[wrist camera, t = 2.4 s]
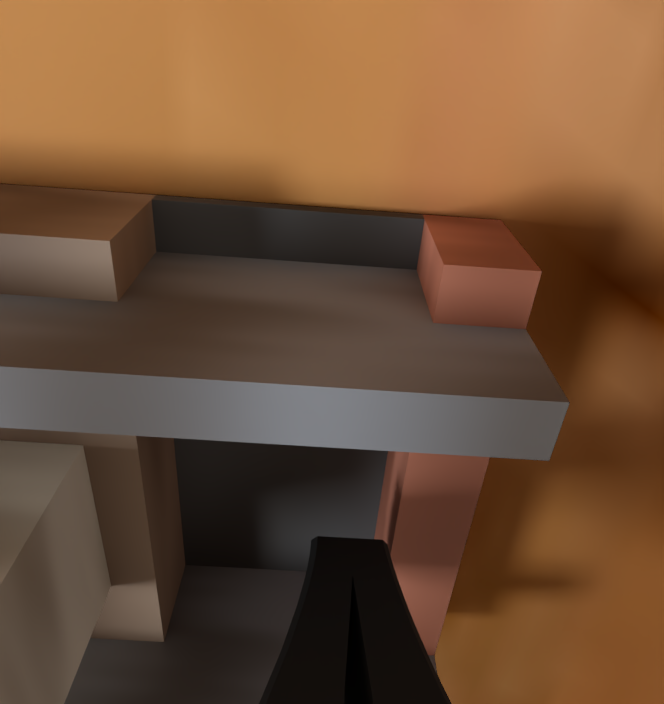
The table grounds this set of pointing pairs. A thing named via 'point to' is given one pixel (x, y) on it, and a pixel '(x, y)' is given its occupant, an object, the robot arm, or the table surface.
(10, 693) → the cream block
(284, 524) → the tunnel deck
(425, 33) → the table surface
